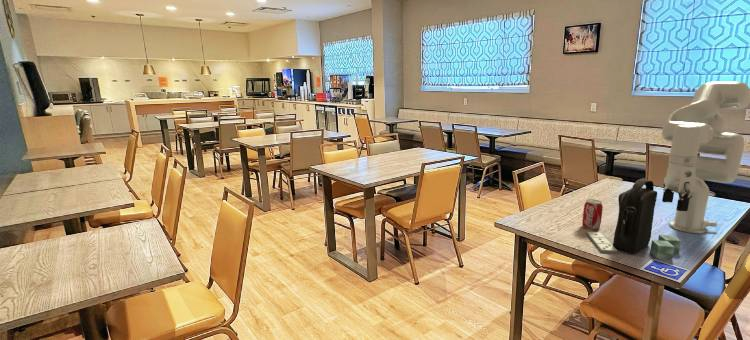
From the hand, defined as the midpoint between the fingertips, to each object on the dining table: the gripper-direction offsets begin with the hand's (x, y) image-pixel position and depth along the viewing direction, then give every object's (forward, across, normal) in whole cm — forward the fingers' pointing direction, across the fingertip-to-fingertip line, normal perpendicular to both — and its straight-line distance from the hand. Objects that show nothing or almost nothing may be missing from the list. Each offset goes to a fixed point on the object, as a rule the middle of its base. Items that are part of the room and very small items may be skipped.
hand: (674, 206), depth 138 cm
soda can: (+18, +22, +19) cm, 34 cm away
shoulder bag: (+19, +3, +11) cm, 22 cm away
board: (+18, +5, +20) cm, 28 cm away
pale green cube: (+18, +3, -2) cm, 19 cm away
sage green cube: (+18, -3, +3) cm, 19 cm away
